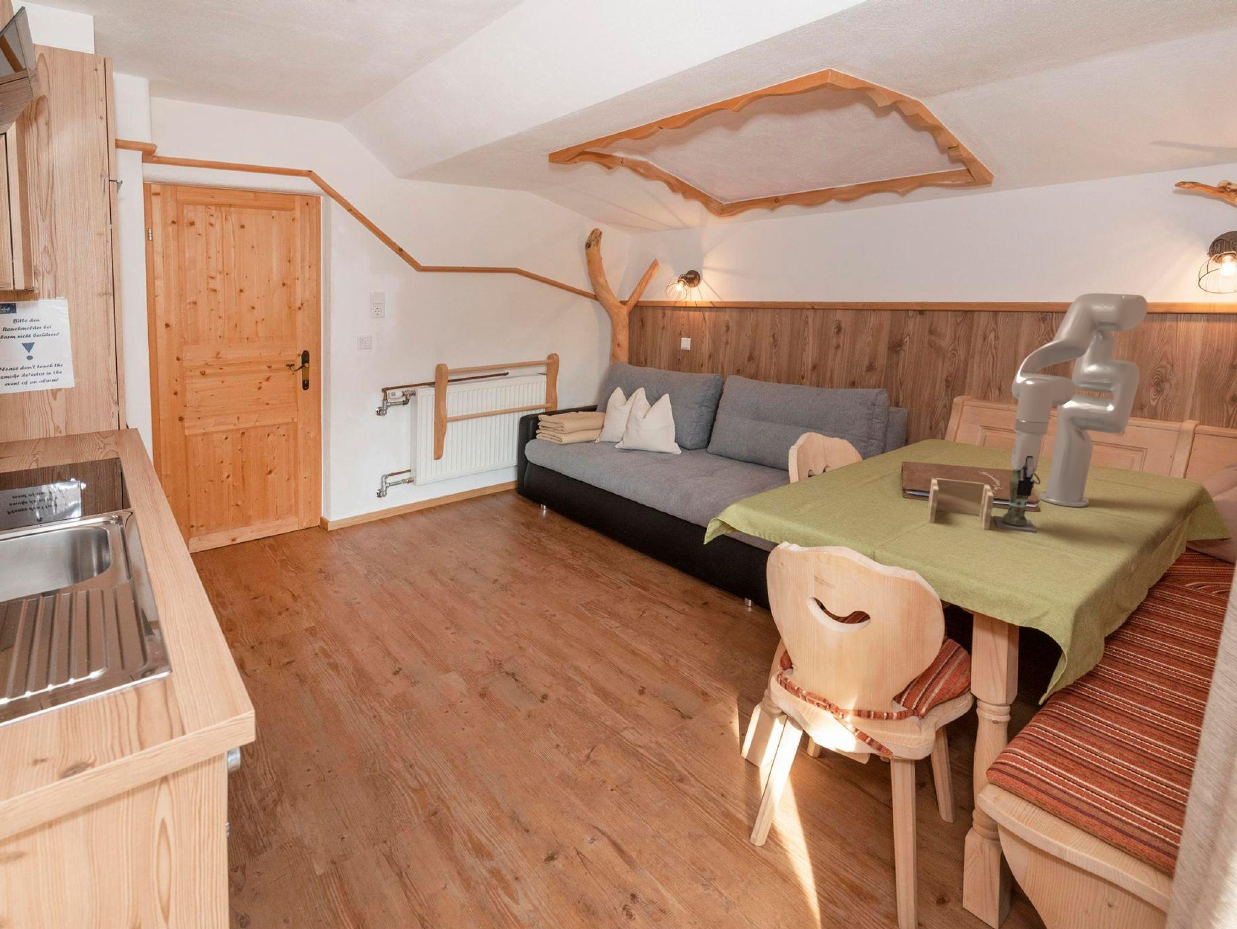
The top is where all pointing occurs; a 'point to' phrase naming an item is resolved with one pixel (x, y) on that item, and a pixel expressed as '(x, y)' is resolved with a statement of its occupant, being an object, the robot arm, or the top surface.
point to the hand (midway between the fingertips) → (1020, 490)
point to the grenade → (1017, 502)
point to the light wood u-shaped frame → (961, 499)
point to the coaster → (1001, 524)
